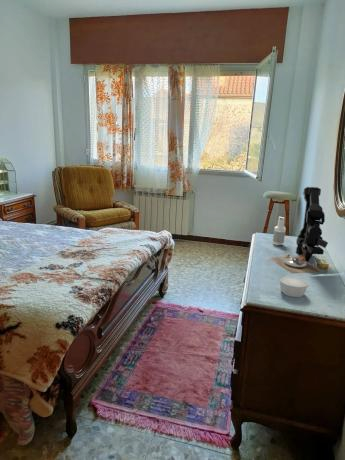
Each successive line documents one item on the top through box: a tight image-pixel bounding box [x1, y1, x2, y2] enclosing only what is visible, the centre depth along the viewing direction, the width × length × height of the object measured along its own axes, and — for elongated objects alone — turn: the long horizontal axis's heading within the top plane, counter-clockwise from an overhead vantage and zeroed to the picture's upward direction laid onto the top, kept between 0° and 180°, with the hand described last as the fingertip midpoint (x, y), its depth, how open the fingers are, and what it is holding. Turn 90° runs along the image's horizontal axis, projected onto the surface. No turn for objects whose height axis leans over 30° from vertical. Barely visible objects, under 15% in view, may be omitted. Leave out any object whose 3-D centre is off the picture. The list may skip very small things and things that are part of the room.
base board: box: [269, 256, 324, 274], centre depth 169 cm, size 18×22×1 cm
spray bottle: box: [272, 216, 287, 246], centre depth 203 cm, size 7×7×18 cm
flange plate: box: [284, 254, 306, 268], centre depth 169 cm, size 14×11×4 cm
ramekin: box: [279, 276, 309, 298], centre depth 138 cm, size 11×11×5 cm
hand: (307, 261), depth 169 cm, fingers closed
